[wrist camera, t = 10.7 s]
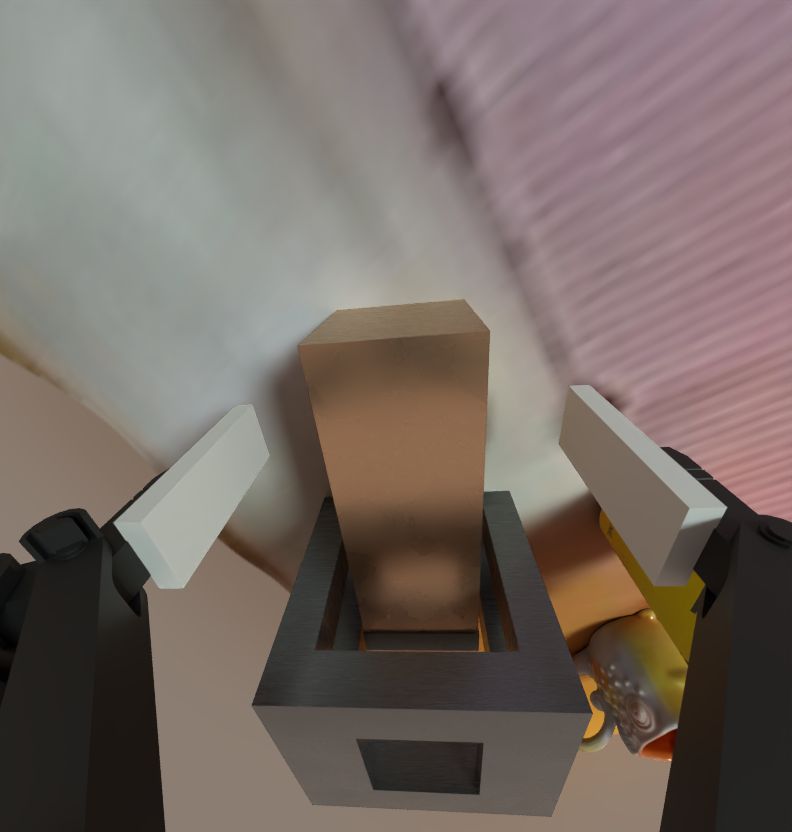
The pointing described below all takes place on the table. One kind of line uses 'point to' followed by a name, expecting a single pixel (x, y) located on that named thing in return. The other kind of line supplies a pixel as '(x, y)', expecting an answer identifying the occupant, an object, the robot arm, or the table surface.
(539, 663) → the collar block
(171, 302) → the table surface
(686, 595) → the yellow can
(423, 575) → the banded wooden beam
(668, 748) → the mug
